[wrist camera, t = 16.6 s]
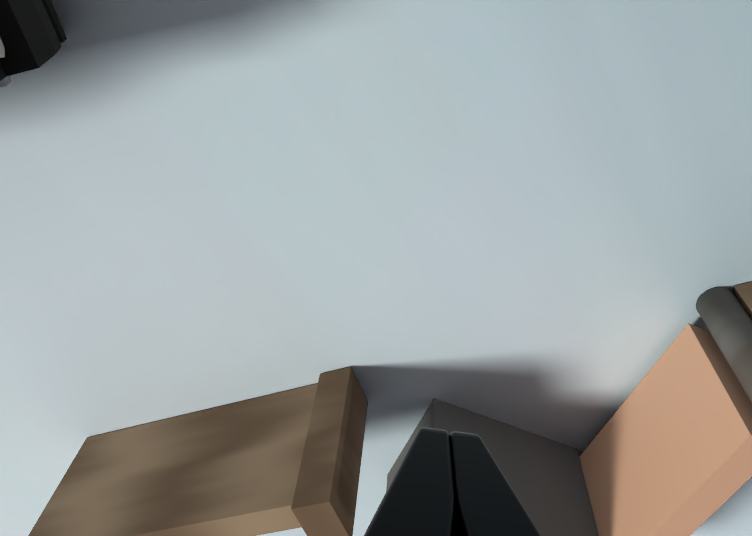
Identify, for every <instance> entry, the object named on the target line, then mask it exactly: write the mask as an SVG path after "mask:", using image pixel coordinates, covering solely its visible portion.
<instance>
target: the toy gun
mask: <svg viewBox="0 0 752 536" xmlns="http://www.w3.org/2000/svg"><path fill="white" fill-rule="evenodd" d="M66 39H67V38H66V36H65V33H64V31H63V29H62V26H61V24H60V22H59V20H58V17H57V15H56V13H55V10H54V8H53V6H52V3H51V1H50V0H0V87H3V86H7V85H8V84H9V83H10V82H11V79H10V77H9V76H10V75H14V74H17V73H21V72H25V71H29V70H32V69H36V68H39V67H40V66H42V65H43V64H44V63H45V62H47V61H48V60H49V59H50V58H51V57H53V56H54V55H55V54H56V53H57V52H58V50H59V49H60V47H61V44H60V43H61V42H64V41H65V40H66Z"/></svg>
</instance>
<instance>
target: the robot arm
mask: <svg viewBox="0 0 752 536" xmlns="http://www.w3.org/2000/svg"><path fill="white" fill-rule="evenodd" d="M364 536H541V534H540V533H539V531H538V529H537V528H536V526H535V525H534V523H533V521H532V520H531V518H530V516H529V515H528V513H527V512H526V510H525V508H524V507H523V505H522V503H521V502H520V500H519V499H518V497H517V495H516V494H515V492H514V490H513V489H512V487H511V486H510V484H509V482H508V481H507V479H506V477H505V476H504V474H503V473H502V471H501V469H500V468H499V466H498V464H497V463H496V461H495V460H494V458H493V456H492V455H491V453H490V451H489V450H488V448H487V447H486V445H485V443H484V442H483V440H482V439H481V437H480V436H479V435H477V434H473V433H466V432H458V431H453V432H451V433H450V434H448V432H447V431H446V430H443V429H435V428H427V427H422V428H420V429H419V430H418V432H417V434H416V436H415V438H414V439H413V441H412V443H411V445H410V447H409V449H408V451H407V453H406V455H405V457H404V459H403V461H402V463H401V465H400V467H399V469H398V471H397V472H396V474H395V476H394V478H393V480H392V482H391V484H390V486H389V488H388V490H387V492H386V494H385V496H384V498H383V500H382V502H381V504H380V505H379V507H378V509H377V511H376V513H375V515H374V517H373V519H372V521H371V523H370V525H369V527H368V529H367V531H366V533H365V535H364Z"/></svg>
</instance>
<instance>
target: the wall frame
mask: <svg viewBox="0 0 752 536" xmlns="http://www.w3.org/2000/svg"><path fill="white" fill-rule="evenodd" d="M734 292H735V295H734V294H733V292H732V291H731V290H729V289H727V288H723V287H716V288H712V289H709V290H707V291H705V292H704V293H703V294H701V295H700V297H699V298H698V300H697V303H696V309H697V311H698V313H699V314H700V316H701V318H702V319H703V321H704V323H705V325H706V326H707V328H708V330H709V331H710V333H711V335H712V336H713V338H714V340H715V341H716V343H717V345H718V346H719V348H720V350H721V351H722V353H723V355H724V357H725V358H726V360H727V362H728V363H729V365H730V367H731V368H732V370H733V372H734V373H735V375H736V377H737V378H738V380H739V382H740V384H741V385H742V387H743V389H744V390H745V392H746V394H747V395H748V397H749V399H750V400H751V402H752V282H748V283H744V284H739V285H735V286H734ZM367 405H368V402H367V400H366V398H365V396H364V394H363V392H362V389H361V387H360V385H359V383H358V381H357V379H356V377H355V375H354V373H353V370H352V368H351V367H347V368H343V369H338V370H334V371H330V372H326V373H322V374H320V377H319V381H318V384H313V385H309V386H305V387H301V388H296V389H292V390H288V391H284V392H279V393H275V394H271V395H267V396H262V397H258V398H254V399H249V400H245V401H241V402H237V403H232V404H228V405H224V406H220V407H215V408H211V409H207V410H203V411H198V412H194V413H190V414H186V415H181V416H177V417H173V418H169V419H164V420H160V421H156V422H152V423H147V424H143V425H139V426H134V427H130V428H126V429H122V430H117V431H113V432H109V433H105V434H100V435H96V436H92V437H88V438H86V440H85V442H84V444H83V445H82V447H81V449H80V450H79V452H78V454H77V455H76V457H75V459H74V460H73V462H72V464H71V465H70V467H69V469H68V470H67V472H66V474H65V475H64V477H63V479H62V480H61V482H60V484H59V485H58V487H57V489H56V490H55V492H54V494H53V495H52V497H51V499H50V501H49V502H48V504H47V506H46V507H45V509H44V511H43V512H42V514H41V516H40V517H39V519H38V521H37V522H36V524H35V526H34V527H33V529H32V531H31V532H30V534H29V536H256V535H261V534H267V533H272V532H278V531H283V530H289V529H294V528H300V527H302V528H303V529H304V531H305V533H306V534H307V536H352V534H353V525H354V517H355V508H356V499H357V491H358V482H359V474H360V465H361V456H362V448H363V439H364V431H365V422H366V413H367Z"/></svg>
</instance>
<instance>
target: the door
mask: <svg viewBox="0 0 752 536" xmlns="http://www.w3.org/2000/svg"><path fill="white" fill-rule="evenodd" d="M579 458H580V462H581V466H582V470H583V474H584V478H585V482H586V486H587V490H588V494H589V498H590V502H591V506H592V510H593V514H594V518H595V522H596V526H597V530H598V534H599V536H690V535H691V534H692V533H693V532H694V531H695V530H696V529H697V528H698V527H700V526H701V525H702V524H703V523H704V522H705V521H706V520H707V519H708V518H709V517H710V516H711V515H712V514H713V513H714V512H715V511H716V510H717V509H718V508H719V507H720V506H721V505H723V504H724V503H725V502H726V501H727V500H728V499H729V498H730V497H731V496H732V495H733V494H734V493H735V492H736V491H737V490H738V489H739V488H740V487H741V486H742V485H743V484H744V483H746V482H747V481H748V480H749V479H750V478H751V477H752V402H751V400H750V399H749V397H748V395H747V394H746V392H745V390H744V389H743V387H742V385H741V384H740V382H739V380H738V378H737V377H736V375H735V373H734V372H733V370H732V368H731V367H730V365H729V363H728V362H727V360H726V358H725V357H724V355H723V353H722V351H721V350H720V348H719V346H718V345H717V343H716V341H715V340H714V338H713V336H712V335H711V333H710V332H709V331H706V330H704V329H701V328H699V327H696V326H694V325H691V324H689V323H688V325H687V326H686V327H685V328H684V330H683V331H682V332H681V333H680V334H679V336H678V337H677V338H676V339H675V341H674V342H673V343H672V344H671V345H670V347H669V348H668V349H667V350H666V352H665V353H664V354H663V355H662V356H661V358H660V359H659V360H658V361H657V363H656V364H655V365H654V366H653V367H652V369H651V370H650V371H649V372H648V374H647V375H646V376H645V377H644V378H643V380H642V381H641V382H640V383H639V385H638V386H637V387H636V388H635V389H634V391H633V392H632V393H631V394H630V396H629V397H628V398H627V399H626V400H625V402H624V403H623V404H622V405H621V406H620V408H619V409H618V410H617V411H616V413H615V414H614V415H613V416H612V417H611V419H610V420H609V421H608V422H607V424H606V425H605V426H604V427H603V428H602V430H601V431H600V432H599V433H598V435H597V436H596V437H595V438H594V439H593V441H592V442H591V443H590V444H589V446H588V447H587V448H586V449H585V450H584V452H583V453H582V454H581V455H580V457H579Z"/></svg>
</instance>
